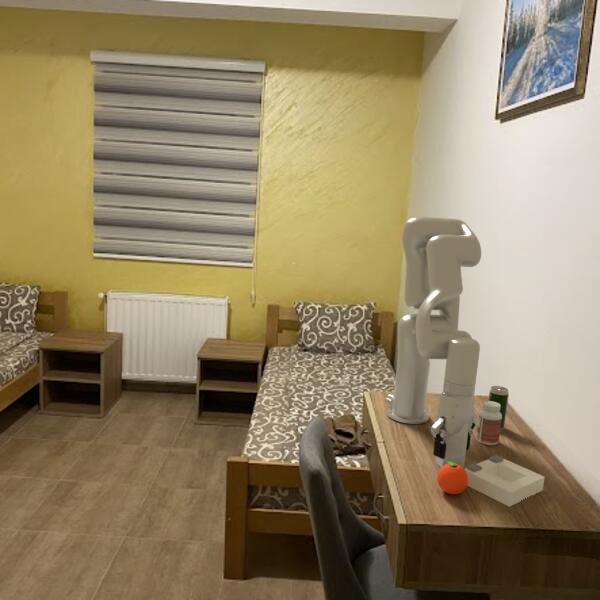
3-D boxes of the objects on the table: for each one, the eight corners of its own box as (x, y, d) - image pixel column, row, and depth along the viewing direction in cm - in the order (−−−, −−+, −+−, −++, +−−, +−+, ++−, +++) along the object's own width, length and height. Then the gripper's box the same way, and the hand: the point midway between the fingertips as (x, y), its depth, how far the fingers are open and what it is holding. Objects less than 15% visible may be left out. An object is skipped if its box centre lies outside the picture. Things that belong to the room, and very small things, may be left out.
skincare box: (456, 461, 162) (462, 417, 159) (464, 469, 158) (469, 424, 155) (434, 462, 161) (439, 418, 158) (441, 469, 156) (447, 424, 154)
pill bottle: (503, 443, 175) (508, 406, 173) (488, 447, 172) (493, 409, 170) (485, 435, 180) (490, 398, 178) (470, 438, 177) (475, 401, 175)
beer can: (490, 431, 183) (496, 392, 181) (481, 423, 189) (486, 385, 186) (507, 430, 185) (512, 391, 182) (497, 423, 190) (503, 385, 187)
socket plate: (461, 482, 150) (463, 466, 150) (495, 468, 159) (497, 453, 158) (509, 506, 141) (511, 490, 140) (542, 490, 149) (545, 474, 149)
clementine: (427, 484, 148) (430, 456, 147) (452, 481, 151) (455, 454, 149) (446, 501, 141) (450, 472, 140) (472, 498, 143) (476, 469, 142)
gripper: (467, 378, 163) (460, 440, 166) (424, 388, 152) (417, 454, 156) (492, 386, 158) (484, 450, 161) (449, 398, 147) (441, 466, 150)
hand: (451, 452), depth 158 cm, fingers open, 9 cm apart
